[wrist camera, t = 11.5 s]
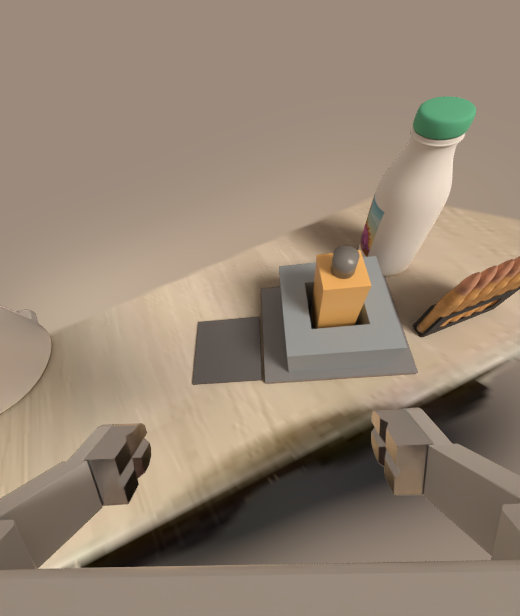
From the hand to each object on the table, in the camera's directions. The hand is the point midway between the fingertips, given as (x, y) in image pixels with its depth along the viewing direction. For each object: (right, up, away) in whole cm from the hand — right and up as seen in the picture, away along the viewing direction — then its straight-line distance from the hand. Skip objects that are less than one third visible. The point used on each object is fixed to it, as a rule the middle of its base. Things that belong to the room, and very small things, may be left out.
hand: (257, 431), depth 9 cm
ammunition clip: (+25, +3, +25) cm, 36 cm away
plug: (+9, +2, +25) cm, 27 cm away
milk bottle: (+19, +12, +31) cm, 38 cm away
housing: (+10, +2, +26) cm, 28 cm away
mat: (-4, -1, +26) cm, 26 cm away
